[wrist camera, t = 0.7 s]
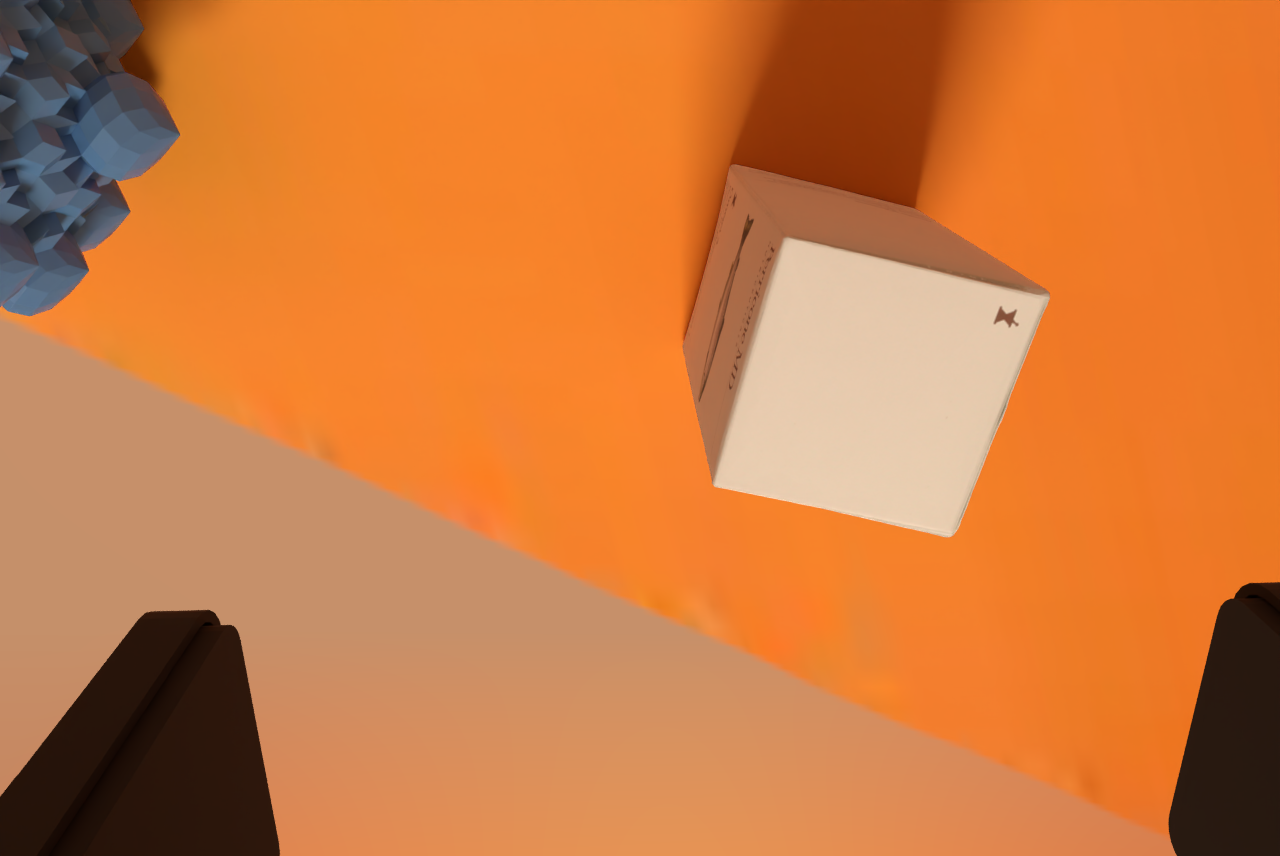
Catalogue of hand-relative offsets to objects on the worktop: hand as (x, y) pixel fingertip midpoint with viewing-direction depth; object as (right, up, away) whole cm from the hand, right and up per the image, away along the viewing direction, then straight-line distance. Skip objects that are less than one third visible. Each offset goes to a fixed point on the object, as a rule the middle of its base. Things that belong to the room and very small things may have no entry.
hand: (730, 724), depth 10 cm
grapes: (-18, +14, +25) cm, 34 cm away
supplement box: (+5, +9, +28) cm, 30 cm away
